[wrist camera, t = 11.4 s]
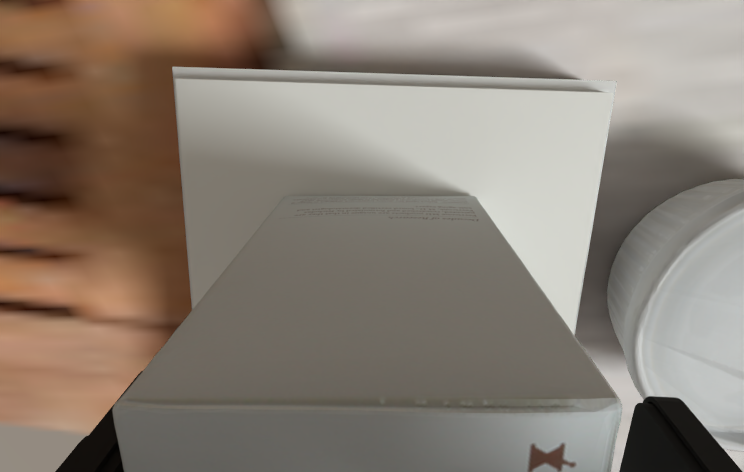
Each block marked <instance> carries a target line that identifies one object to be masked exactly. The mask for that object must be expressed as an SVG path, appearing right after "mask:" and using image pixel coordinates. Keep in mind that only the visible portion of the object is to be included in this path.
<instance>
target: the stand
mask: <svg viewBox="0 0 744 472" xmlns="http://www.w3.org/2000/svg"><path fill="white" fill-rule="evenodd" d="M172 71H173V83H174V95H175V108H176V120H177V132H178V144H179V157H180V169H181V181H182V193H183V206H184V218H185V230H186V242H187V255H188V267H189V279H190V291H191V304H192V310H193V308H194V307H195V306H196V305H197V304H198V302H199V301H200V300H201V299H202V298H203V296H204V295H205V294H206V292H207V291H208V290H209V289H210V287H211V286H212V285H213V284H214V282H215V281H216V280H217V279H218V278H219V276H220V275H221V274H222V273H223V271H224V270H225V269H226V268H227V266H228V265H229V264H230V263H231V261H232V260H233V259H234V258H235V257H236V255H237V254H238V253H239V251H240V250H241V249H242V248H243V246H244V245H245V244H246V243H247V242H248V240H249V239H250V238H251V237H252V235H253V234H254V233H255V232H256V230H257V229H258V228H259V227H260V225H261V224H262V223H263V222H264V220H265V219H266V218H267V217H268V215H269V214H270V213H271V212H272V211H273V209H274V208H275V207H276V206H277V204H278V203H279V202H280V201H281V199H282V198H283V197H285V196H475V197H477V199H478V201H479V202H480V204H481V205H482V206H483V208H484V209H485V210H486V212H487V213H488V215H489V216H490V218H491V219H492V220H493V222H494V223H495V225H496V226H497V228H498V229H499V230H500V232H501V233H502V234H503V236H504V237H505V239H506V240H507V242H508V243H509V244H510V246H511V247H512V248H513V250H514V251H515V252H516V254H517V255H518V257H519V258H520V260H521V261H522V262H523V264H524V265H525V267H526V268H527V270H528V271H529V272H530V274H531V275H532V277H533V278H534V279H535V281H536V282H537V284H538V285H539V286H540V288H541V289H542V291H543V292H544V293H545V295H546V296H547V298H548V299H549V300H550V302H551V303H552V305H553V306H554V307H555V309H556V310H557V312H558V313H559V315H560V316H561V317H562V319H563V320H564V321H565V323H566V324H567V326H568V327H569V329H570V330H571V332H572V333H573V334H574V336H575V330H576V324H577V318H578V311H579V305H580V299H581V293H582V287H583V281H584V275H585V269H586V263H587V257H588V251H589V245H590V239H591V233H592V227H593V221H594V215H595V209H596V203H597V197H598V191H599V185H600V179H601V173H602V167H603V161H604V155H605V149H606V143H607V137H608V131H609V125H610V119H611V113H612V107H613V101H614V95H615V89H616V83H617V81H603V80H572V79H540V78H509V77H478V76H447V75H416V74H385V73H354V72H323V71H291V70H260V69H229V68H198V67H172Z"/></svg>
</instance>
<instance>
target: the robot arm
mask: <svg viewBox="0 0 744 472" xmlns="http://www.w3.org/2000/svg"><path fill="white" fill-rule="evenodd" d="M142 372H143V371H142ZM142 372H141V373H142ZM141 373H139V374H138V376H139V375H140V374H141ZM138 376H137V377H136V378H135V379H134V381H135V380H136V379H137V378H138ZM134 381H133V382H134ZM133 382H132V383H131V384H130V386H131V385H132V384H133ZM130 386H129V387H130ZM129 387H128V388H129ZM128 388H127V389H126V390H125V392H126V391H127V390H128ZM125 392H124V393H125ZM124 393H123V394H124ZM123 394H122V395H123ZM122 395H121V397H122ZM121 397H120V398H121ZM120 398H119V399H120ZM119 399H118V400H119ZM118 400H117V401H118ZM113 407H114V405H113V406H112V408H111V409H110V410H109V411H108V413H107V414H106V415H105V416H104V417H103V419H102V420H101V421H100V422H99V424H98V425H97V426H96V427H95V429H94V430H93V431H92V432H91V433H90V435H89V436H86V437H85V438H84V439H83V440H82V441H81V442H80V443H79V444H78V445H77V446H76V447H75V449H74V450H73V451H72V453H70V455H69V456H68V457H67V458H66V460H65V461H64V462H63V463H62V464H61V466H60V467H59V468H58V469H57V470H56V472H124V469H123V464H122V459H121V454H120V448H119V444H118V439H117V434H116V430H115V425H114V419H113V411H112V409H113ZM620 472H742V471H741V470H740V468H739V467H738V466H737V465H736V464H735V462H734V461H733V460H732V459H731V458H730V456H729V455H728V454H727V453H726V452H725V451H724V449H723V448H722V447H721V446H720V445H719V443H718V442H717V441H716V440H715V439H714V437H713V436H712V435H711V434H710V433H709V432H708V430H707V429H706V428H705V427H704V426H703V424H702V423H701V422H700V421H699V420H698V418H697V417H696V416H695V415H694V414H693V412H692V411H691V410H690V409H689V408H688V407H687V405H686V404H685V403H684V402H683V401H682V400H681V399H679V398H676V397H657V396H648V397H646V398H645V399H644V401H643V403H638V404H637V405H636V406H635V409H634V413H633V417H632V421H631V426H630V430H629V434H628V438H627V442H626V447H625V451H624V455H623V459H622V463H621V468H620Z"/></svg>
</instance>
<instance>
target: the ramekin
mask: <svg viewBox="0 0 744 472" xmlns="http://www.w3.org/2000/svg"><path fill="white" fill-rule="evenodd" d="M607 297H608V299H607V306H608V309H609V316H610V319H611V322H612V325H613V329H614V331H615V334H616V336H617V338H618V340H619V342H620V345H621V347H622V349H623V352H624V354H625V359H626V364H627V367H628V371H629V373H630V375H631V378H632V380H633V383H634V385H635V387H636V388H637V390H638V392H639V393H640V395H641V396H642V398H643V399H645V398H646V397H648V396H657V397H676V398H679V399H681V400H682V401H683V402H684V403H685V404H686V405H687V407H688V408H689V409H690V410H691V411H692V412H693V414H694V415H695V416H696V417H697V418H698V420H699V421H700V422H701V423H702V424H703V426H704V427H705V428H706V429H707V430H708V432H709V433H710V434H711V435H712V436H713V437H714V439H715V440H716V441H717V442H718V443H719V445H720V446H721V447H722V448H723V449H726V450H730V451H741V452H744V179H728V180H724V181H714V182H710V183H707V184H703V185H698V186H696V187H694V188H692V189H689V190H685V191H682V192H681V193H679V194H678V195H676V196H674V197H671V198H669V199H668V200H666V201H665V202H663V203H662V204H660V205H659V206H657V207H655V208H654V209H653V210H652V211H651V212H649V213H648V214H647V215H646V216H644V218H643V219H642V220H641V221H640V222H639V223H638V224H637V225H636V226H635V227H634V228H633V229H632V231H631V232H630V234H629V235H628V236H627V238H626V239H625V240H624V241H623V244H622V246H621V248H620V249H619V251H618V252H617V254H616V257H615V260H614V262H613V264H612V267H611V273H610V276H609V279H608V289H607Z"/></svg>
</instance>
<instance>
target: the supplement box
mask: <svg viewBox="0 0 744 472" xmlns="http://www.w3.org/2000/svg"><path fill="white" fill-rule="evenodd" d="M112 411H113V419H114V425H115V430H116V434H117V439H118V444H119V448H120V454H121V459H122V464H123V469H124V472H611V467H612V461H613V455H614V449H615V443H616V437H617V433H618V429H619V425H620V421H621V414H622V404H621V401H620V399H619V398H618V396H617V395H616V393H615V392H614V390H613V389H612V388H611V386H610V385H609V383H608V382H607V381H606V379H605V378H604V376H603V375H602V373H601V372H600V371H599V369H598V368H597V366H596V365H595V364H594V362H593V361H592V359H591V358H590V357H589V355H588V354H587V352H586V351H585V350H584V348H583V347H582V345H581V344H580V342H579V341H578V340H577V338H576V337H575V336H574V334H573V333H572V332H571V330H570V329H569V327H568V326H567V324H566V323H565V321H564V320H563V319H562V317H561V316H560V315H559V313H558V312H557V310H556V309H555V307H554V306H553V305H552V303H551V302H550V300H549V299H548V298H547V296H546V295H545V293H544V292H543V291H542V289H541V288H540V286H539V285H538V284H537V282H536V281H535V279H534V278H533V277H532V275H531V274H530V272H529V271H528V270H527V268H526V267H525V265H524V264H523V262H522V261H521V260H520V258H519V257H518V255H517V254H516V252H515V251H514V250H513V248H512V247H511V246H510V244H509V243H508V242H507V240H506V239H505V237H504V236H503V234H502V233H501V232H500V230H499V229H498V228H497V226H496V225H495V223H494V222H493V220H492V219H491V218H490V216H489V215H488V213H487V212H486V210H485V209H484V208H483V206H482V205H481V204H480V202H479V201H478V199H477V197H475V196H285V197H283V198H282V199H281V201H280V202H279V203H278V204H277V206H276V207H275V208H274V209H273V211H272V212H271V213H270V214H269V215H268V217H267V218H266V219H265V220H264V222H263V223H262V224H261V225H260V227H259V228H258V229H257V230H256V232H255V233H254V234H253V235H252V237H251V238H250V239H249V240H248V242H247V243H246V244H245V245H244V246H243V248H242V249H241V250H240V251H239V253H238V254H237V255H236V257H235V258H234V259H233V260H232V261H231V263H230V264H229V265H228V266H227V268H226V269H225V270H224V271H223V273H222V274H221V275H220V276H219V278H218V279H217V280H216V281H215V282H214V284H213V285H212V286H211V287H210V289H209V290H208V291H207V292H206V294H205V295H204V296H203V298H202V299H201V300H200V301H199V302H198V304H197V305H196V306H195V307H194V308H193V310H192V311H191V312H190V314H189V315H188V316H187V317H186V319H185V320H184V321H183V322H182V323H181V325H180V326H179V327H178V328H177V329H176V330H175V332H174V333H173V334H172V336H171V337H170V338H169V340H168V341H167V342H166V343H165V345H164V346H163V347H162V348H161V349H160V351H159V352H158V353H157V354H156V355H155V357H154V358H153V359H152V360H151V362H150V363H149V364H148V366H147V367H146V368H145V369H144V371H143V372H142V373H141V374H140V375H139V376H138V378H137V379H136V380H135V381H134V382H133V384H132V385H131V386H130V387H129V388H128V390H127V391H126V392H125V393H124V394H123V395H122V397H121V398H120V399H119V400H118V401H117V402H116V403H115V404H114V407H113V409H112Z"/></svg>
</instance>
